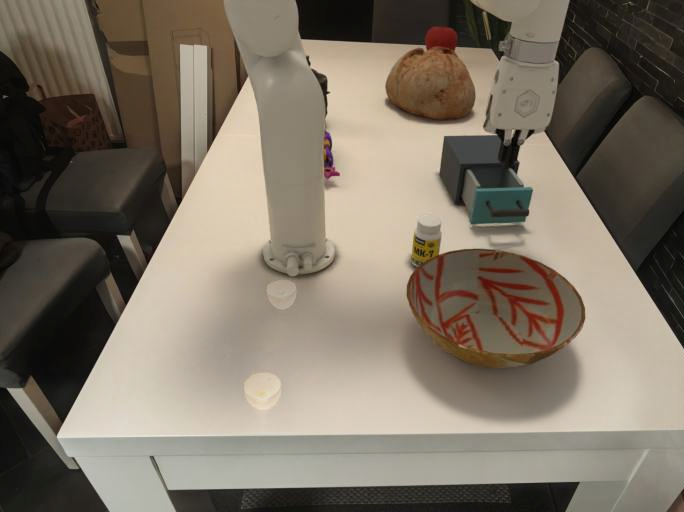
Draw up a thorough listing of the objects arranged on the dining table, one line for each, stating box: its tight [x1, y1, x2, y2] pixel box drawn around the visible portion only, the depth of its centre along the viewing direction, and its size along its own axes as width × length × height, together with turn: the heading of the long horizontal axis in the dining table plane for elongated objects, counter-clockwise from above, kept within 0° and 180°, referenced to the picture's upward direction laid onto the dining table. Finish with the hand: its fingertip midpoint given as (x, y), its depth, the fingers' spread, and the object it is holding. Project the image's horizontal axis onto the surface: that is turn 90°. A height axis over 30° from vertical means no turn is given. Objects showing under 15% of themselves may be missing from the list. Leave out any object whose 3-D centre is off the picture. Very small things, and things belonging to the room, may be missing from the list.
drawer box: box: [439, 134, 521, 205], centre depth 117 cm, size 14×12×9 cm
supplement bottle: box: [410, 214, 442, 268], centre depth 95 cm, size 5×5×8 cm
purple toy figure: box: [324, 130, 341, 180], centre depth 122 cm, size 14×25×12 cm, turn 5°
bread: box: [384, 46, 476, 121], centre depth 153 cm, size 26×23×15 cm
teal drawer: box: [460, 167, 534, 225], centre depth 108 cm, size 18×11×7 cm, turn 8°
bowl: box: [406, 248, 586, 369], centre depth 80 cm, size 25×25×8 cm
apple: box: [424, 26, 459, 52], centre depth 188 cm, size 11×11×12 cm
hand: (506, 164), depth 96 cm, fingers closed
